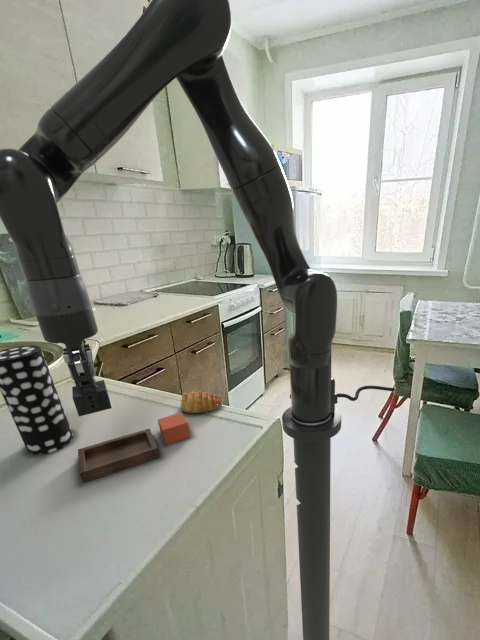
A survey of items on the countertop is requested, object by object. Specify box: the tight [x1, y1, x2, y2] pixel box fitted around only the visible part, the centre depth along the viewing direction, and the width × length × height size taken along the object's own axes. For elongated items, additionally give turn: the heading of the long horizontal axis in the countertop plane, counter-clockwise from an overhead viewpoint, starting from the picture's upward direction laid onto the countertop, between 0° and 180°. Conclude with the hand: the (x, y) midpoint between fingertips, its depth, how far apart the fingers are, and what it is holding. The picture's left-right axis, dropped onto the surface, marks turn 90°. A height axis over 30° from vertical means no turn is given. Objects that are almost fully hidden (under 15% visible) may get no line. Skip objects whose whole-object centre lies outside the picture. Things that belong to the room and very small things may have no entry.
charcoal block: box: [71, 379, 113, 417], centre depth 61 cm, size 5×5×4 cm
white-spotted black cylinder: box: [0, 344, 74, 456], centre depth 69 cm, size 8×8×20 cm
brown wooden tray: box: [77, 427, 161, 484], centre depth 67 cm, size 13×8×2 cm, turn 120°
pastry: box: [180, 390, 223, 414], centre depth 83 cm, size 9×7×4 cm
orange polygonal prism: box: [157, 412, 191, 445], centre depth 73 cm, size 5×5×4 cm
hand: (94, 404), depth 61 cm, fingers closed on charcoal block, 5 cm apart
